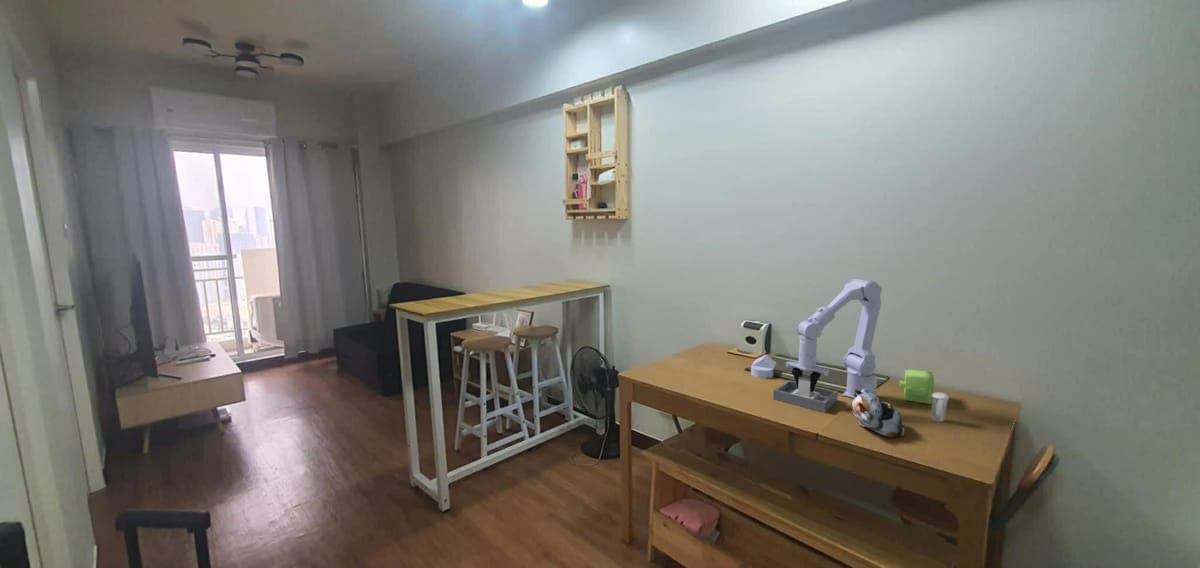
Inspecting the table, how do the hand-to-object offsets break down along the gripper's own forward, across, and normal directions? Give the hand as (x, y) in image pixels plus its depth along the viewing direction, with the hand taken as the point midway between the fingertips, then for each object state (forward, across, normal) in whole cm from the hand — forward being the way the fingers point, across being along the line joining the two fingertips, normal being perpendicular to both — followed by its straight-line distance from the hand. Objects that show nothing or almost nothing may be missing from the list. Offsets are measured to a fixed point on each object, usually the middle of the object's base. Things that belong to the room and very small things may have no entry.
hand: (805, 389), depth 168 cm
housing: (+4, 0, 0) cm, 4 cm away
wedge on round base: (+4, -24, +18) cm, 30 cm away
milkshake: (+4, +38, +12) cm, 40 cm away
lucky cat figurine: (+4, +25, -9) cm, 27 cm away
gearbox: (+4, +29, +30) cm, 42 cm away
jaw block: (+2, 0, 0) cm, 2 cm away
